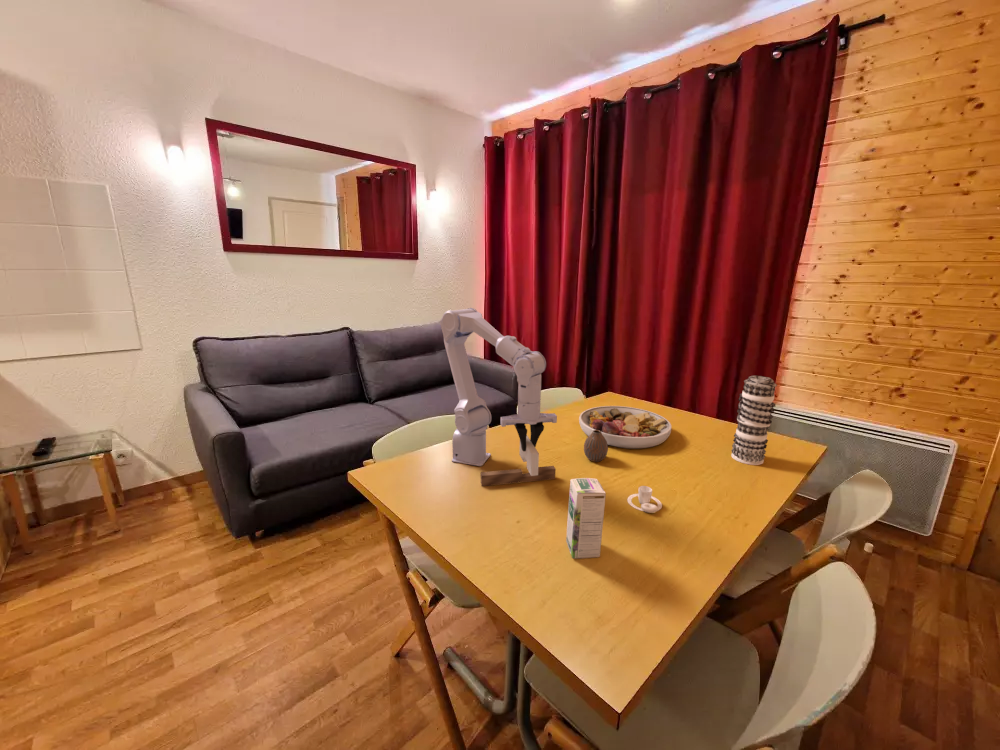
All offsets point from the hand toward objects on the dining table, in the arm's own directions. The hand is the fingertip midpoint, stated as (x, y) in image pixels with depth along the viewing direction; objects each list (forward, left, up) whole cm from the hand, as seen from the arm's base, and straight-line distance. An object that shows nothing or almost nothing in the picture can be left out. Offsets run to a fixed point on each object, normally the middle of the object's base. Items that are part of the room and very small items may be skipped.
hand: (528, 449), depth 108 cm
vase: (+16, +19, -9) cm, 26 cm away
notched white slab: (0, -1, -4) cm, 4 cm away
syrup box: (+18, -23, -9) cm, 31 cm away
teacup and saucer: (+28, -3, -10) cm, 29 cm away
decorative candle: (+59, +34, -9) cm, 68 cm away
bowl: (+23, +42, -9) cm, 49 cm away
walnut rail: (-2, -1, -9) cm, 9 cm away
